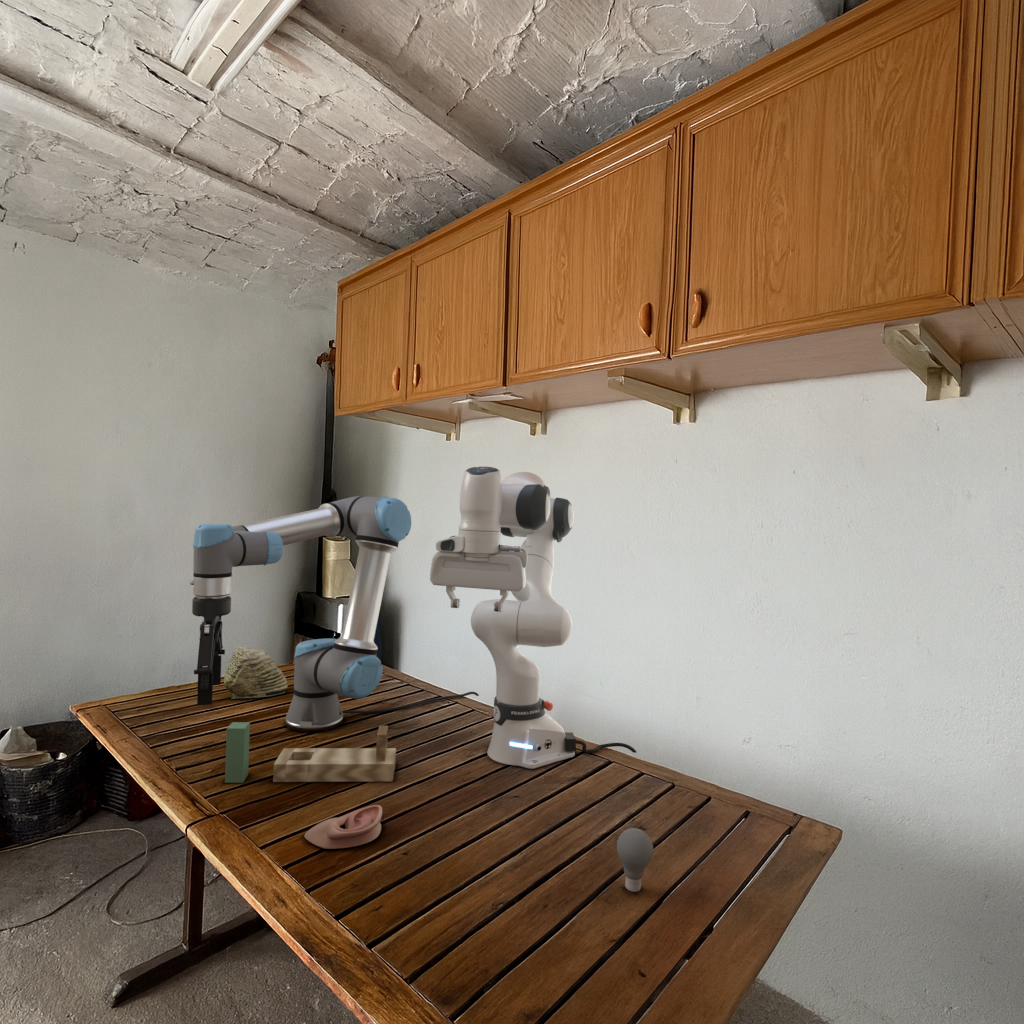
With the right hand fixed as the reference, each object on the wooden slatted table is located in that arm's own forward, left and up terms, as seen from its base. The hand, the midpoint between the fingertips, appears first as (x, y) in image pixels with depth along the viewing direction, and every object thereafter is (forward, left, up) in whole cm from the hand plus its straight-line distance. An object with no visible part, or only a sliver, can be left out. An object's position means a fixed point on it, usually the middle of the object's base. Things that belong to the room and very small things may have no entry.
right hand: (476, 609), depth 133 cm
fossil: (+34, -89, -41) cm, 104 cm away
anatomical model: (+27, +3, -41) cm, 49 cm away
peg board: (+22, -24, -41) cm, 53 cm away
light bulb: (-13, +39, -41) cm, 58 cm away
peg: (+43, -29, -41) cm, 66 cm away
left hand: (+49, -29, -21) cm, 61 cm away
